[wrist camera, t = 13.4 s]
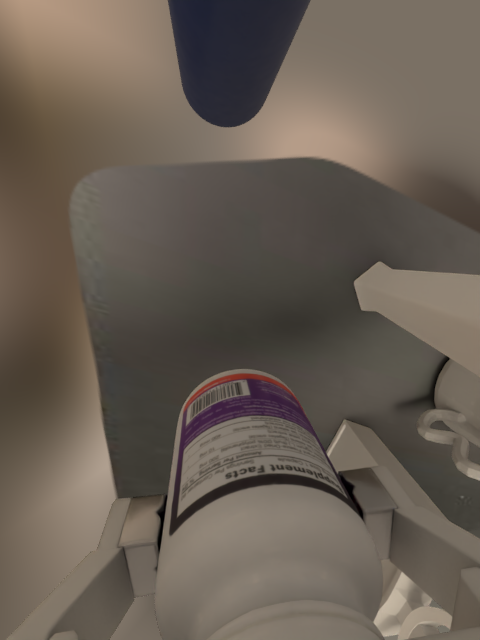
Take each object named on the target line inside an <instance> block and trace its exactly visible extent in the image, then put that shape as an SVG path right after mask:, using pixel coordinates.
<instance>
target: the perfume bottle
mask: <svg viewBox="0 0 480 640" xmlns="http://www.w3.org/2000/svg"><path fill="white" fill-rule="evenodd" d="M354 287H355V290H356V294H357V297H358V300H359V304H360V307H361V310H363V311H377V312H378V313H380V314H381V315H383V316H385V317H386V318H388V319H389V320H391V321H392V322H394V323H396V324H397V325H399V326H400V327H402V328H403V329H405V330H407V331H408V332H410V333H411V334H413V335H414V336H416V337H418V338H419V339H421V340H422V341H424V342H425V343H427V344H429V345H430V346H432V347H433V348H435V349H436V350H438V351H440V352H441V353H443V354H444V355H446V356H447V357H449V358H451V359H452V360H454V361H455V362H457V363H458V364H460V365H462V366H463V367H465V368H466V369H468V370H469V371H471V372H473V373H474V374H476V375H477V376H479V377H480V275H471V274H456V273H441V272H426V271H411V270H396V269H391V268H390V267H388V266H387V265H385V264H384V263H382V262H377V263H376V264H375V265H373V266H372V267H371V268H370V269H368V270H367V271H366V272H365V273H364V274H362V275H361V276H360V277H359V278H357V279H356V280H355V281H354Z"/></svg>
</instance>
